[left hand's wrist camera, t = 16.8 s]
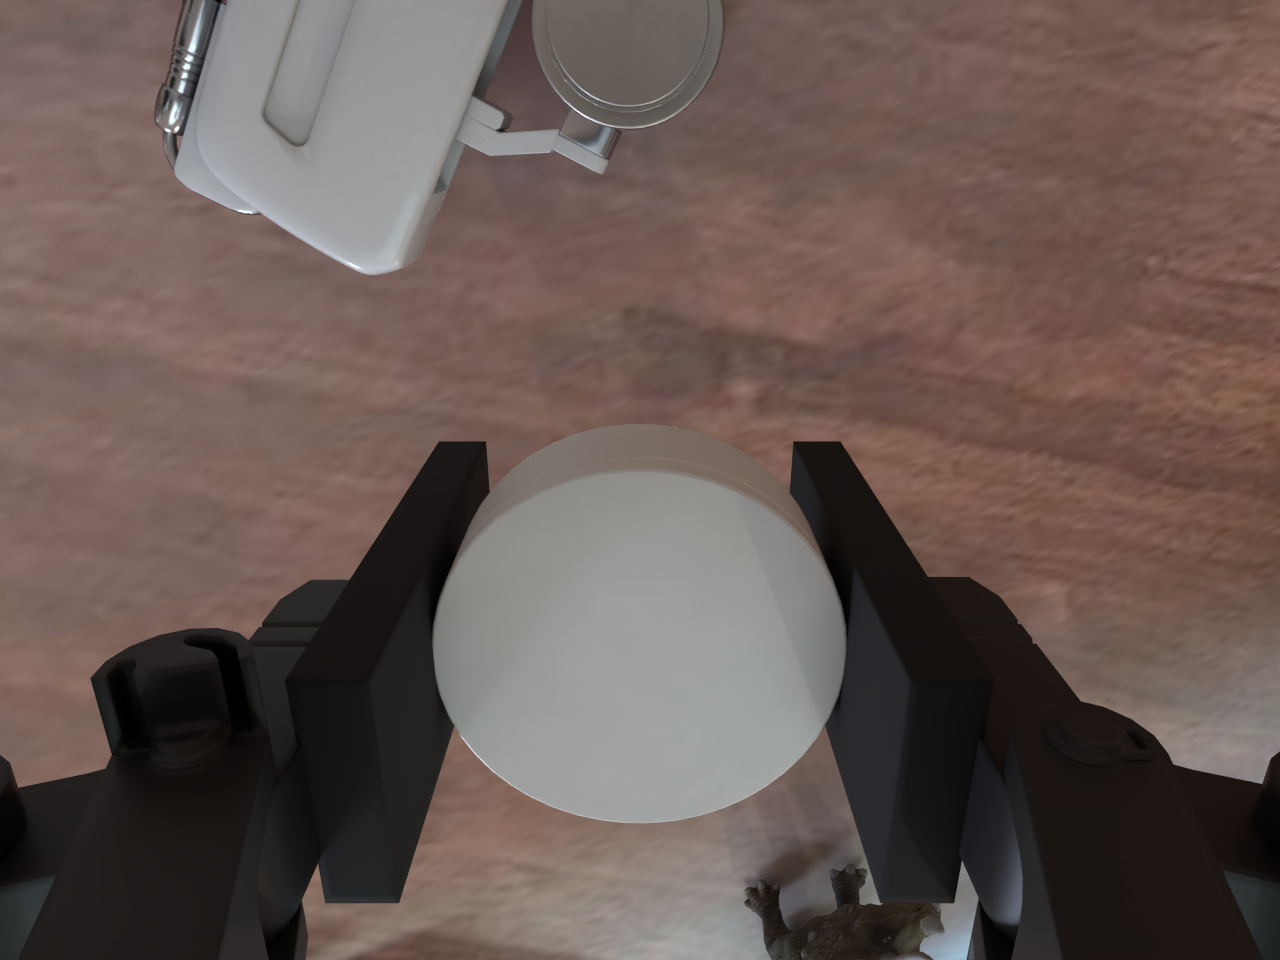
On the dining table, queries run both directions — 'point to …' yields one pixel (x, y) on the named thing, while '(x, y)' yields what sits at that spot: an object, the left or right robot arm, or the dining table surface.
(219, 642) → the left robot arm
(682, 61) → the jar
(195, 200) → the dining table surface
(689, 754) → the lid
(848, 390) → the dining table surface
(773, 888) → the toy dinosaur
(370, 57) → the right robot arm
